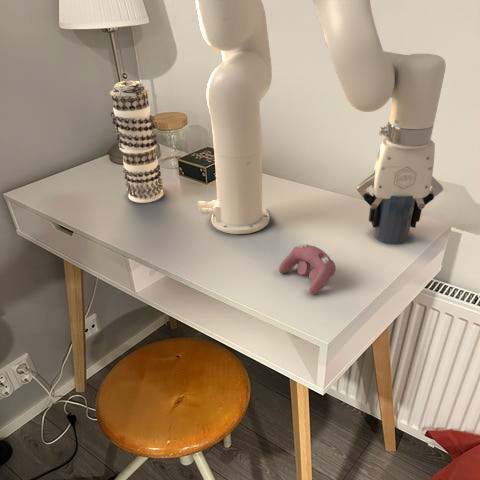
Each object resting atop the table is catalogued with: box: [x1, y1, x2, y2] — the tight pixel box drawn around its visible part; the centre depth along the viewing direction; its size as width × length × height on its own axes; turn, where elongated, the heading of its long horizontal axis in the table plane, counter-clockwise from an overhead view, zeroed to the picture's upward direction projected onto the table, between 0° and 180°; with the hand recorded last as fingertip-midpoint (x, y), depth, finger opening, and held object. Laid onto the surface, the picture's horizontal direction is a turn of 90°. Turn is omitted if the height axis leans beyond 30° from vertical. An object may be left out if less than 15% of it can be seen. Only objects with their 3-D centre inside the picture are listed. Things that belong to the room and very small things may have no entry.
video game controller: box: [278, 243, 337, 296], centre depth 86 cm, size 10×5×7 cm, turn 35°
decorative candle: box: [109, 80, 164, 204], centre depth 109 cm, size 9×9×25 cm
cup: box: [373, 196, 416, 245], centre depth 95 cm, size 7×7×10 cm
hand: (392, 223), depth 97 cm, fingers closed on cup, 6 cm apart
